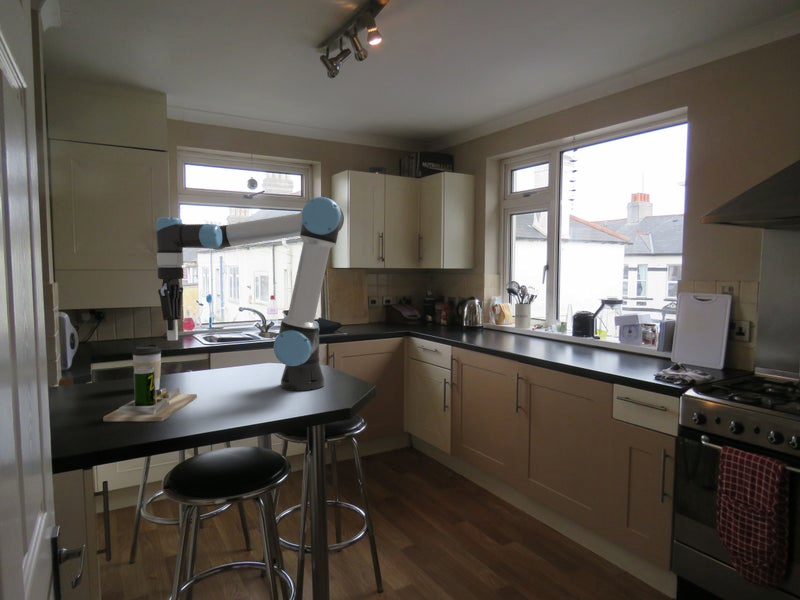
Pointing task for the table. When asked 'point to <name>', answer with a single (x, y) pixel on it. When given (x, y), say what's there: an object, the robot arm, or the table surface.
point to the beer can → (144, 386)
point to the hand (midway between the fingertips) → (172, 340)
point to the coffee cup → (148, 360)
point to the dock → (152, 408)
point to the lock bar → (160, 394)
